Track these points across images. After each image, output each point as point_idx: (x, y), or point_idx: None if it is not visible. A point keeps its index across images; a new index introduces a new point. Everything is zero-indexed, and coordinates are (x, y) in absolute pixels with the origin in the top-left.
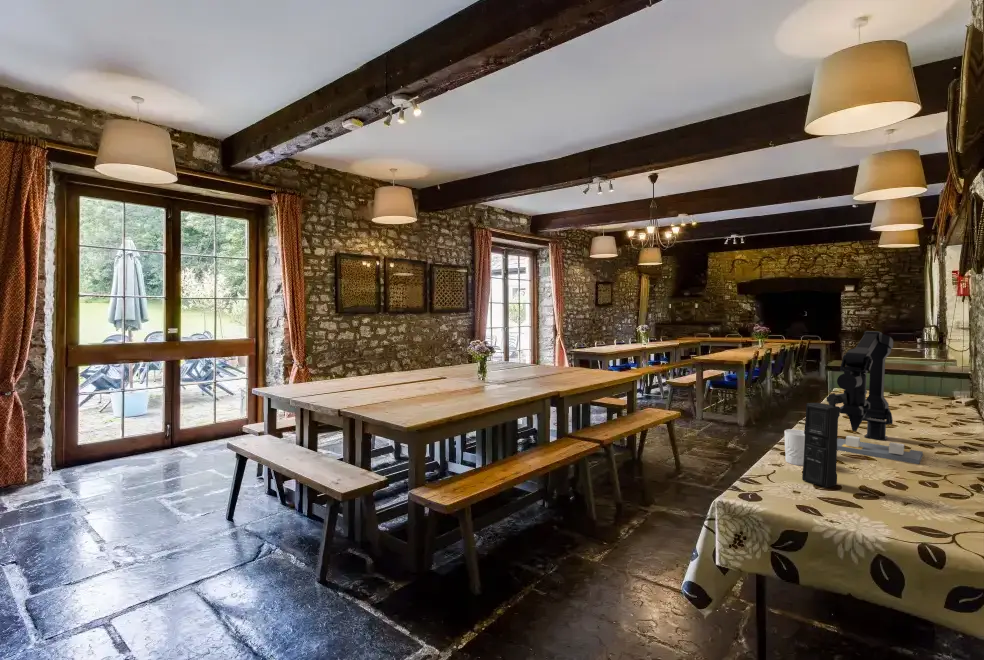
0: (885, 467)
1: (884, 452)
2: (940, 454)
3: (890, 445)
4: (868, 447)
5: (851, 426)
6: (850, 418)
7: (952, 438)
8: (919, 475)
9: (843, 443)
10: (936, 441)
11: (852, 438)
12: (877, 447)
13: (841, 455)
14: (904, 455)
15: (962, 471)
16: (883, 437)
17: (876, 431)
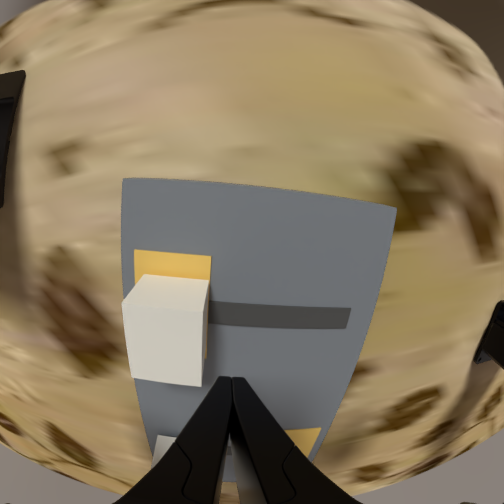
0: (28, 384)
1: (172, 422)
2: (349, 474)
3: (153, 465)
4: (231, 376)
5: (200, 403)
6: (146, 489)
7: (497, 421)
8: (42, 432)
9: (240, 251)
10: (477, 422)
11: (129, 343)
12: (266, 403)
13: (41, 251)
14: None
15: None
16: (488, 356)
17: (501, 354)
